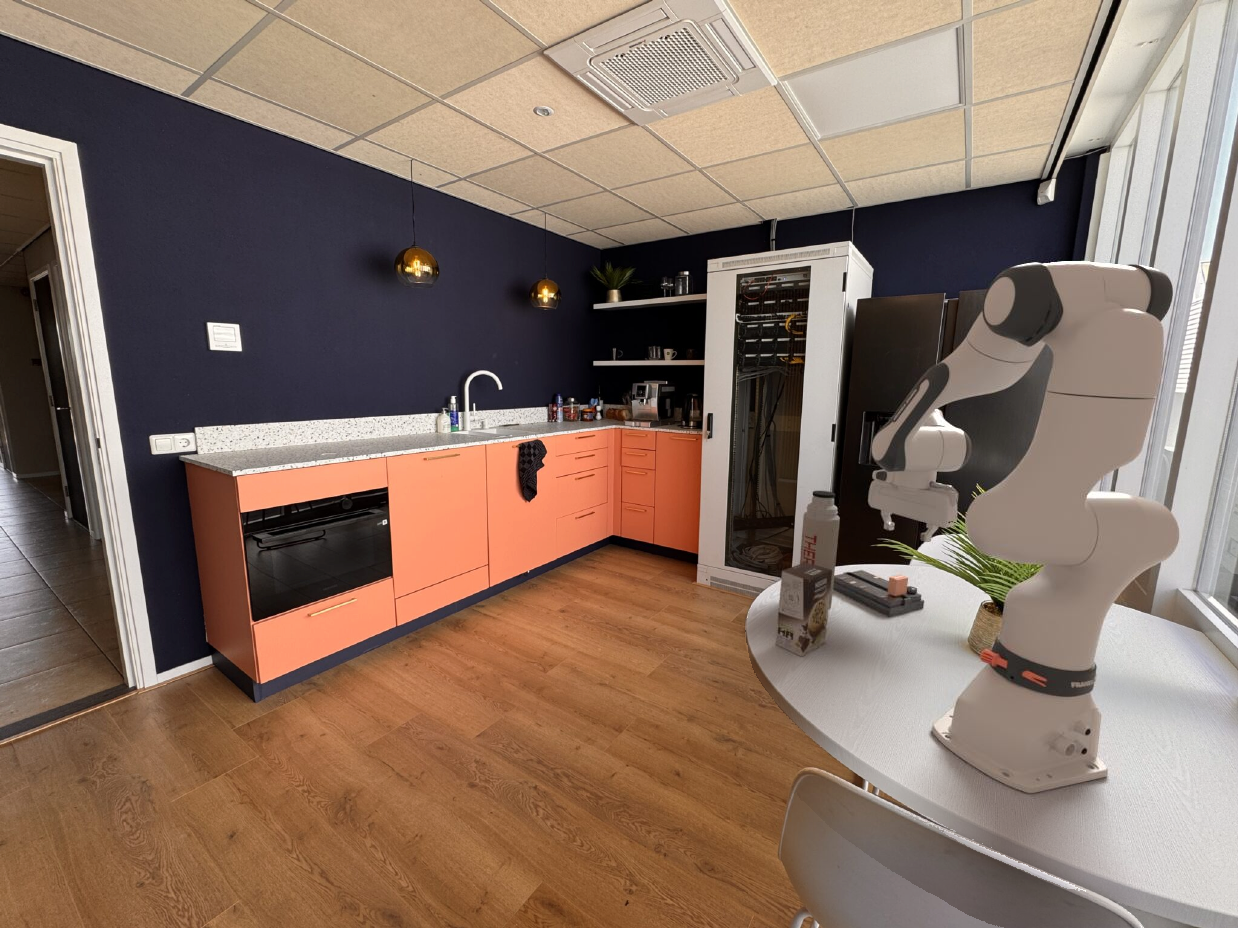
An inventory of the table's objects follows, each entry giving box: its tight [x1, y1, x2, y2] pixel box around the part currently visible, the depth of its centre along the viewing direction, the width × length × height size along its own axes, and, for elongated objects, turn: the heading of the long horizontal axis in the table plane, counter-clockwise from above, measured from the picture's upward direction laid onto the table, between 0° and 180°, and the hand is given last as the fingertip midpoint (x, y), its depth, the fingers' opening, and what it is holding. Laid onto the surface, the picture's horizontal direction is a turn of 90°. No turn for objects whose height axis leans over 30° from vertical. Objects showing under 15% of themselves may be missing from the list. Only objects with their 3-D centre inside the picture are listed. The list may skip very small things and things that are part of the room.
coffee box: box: [775, 562, 832, 657], centre depth 104 cm, size 9×6×16 cm
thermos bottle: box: [799, 490, 841, 611], centre depth 122 cm, size 8×8×28 cm
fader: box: [888, 574, 909, 598], centre depth 122 cm, size 4×2×6 cm, turn 115°
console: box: [833, 569, 925, 618], centre depth 128 cm, size 12×18×4 cm, turn 25°
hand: (906, 535), depth 120 cm, fingers open, 8 cm apart
